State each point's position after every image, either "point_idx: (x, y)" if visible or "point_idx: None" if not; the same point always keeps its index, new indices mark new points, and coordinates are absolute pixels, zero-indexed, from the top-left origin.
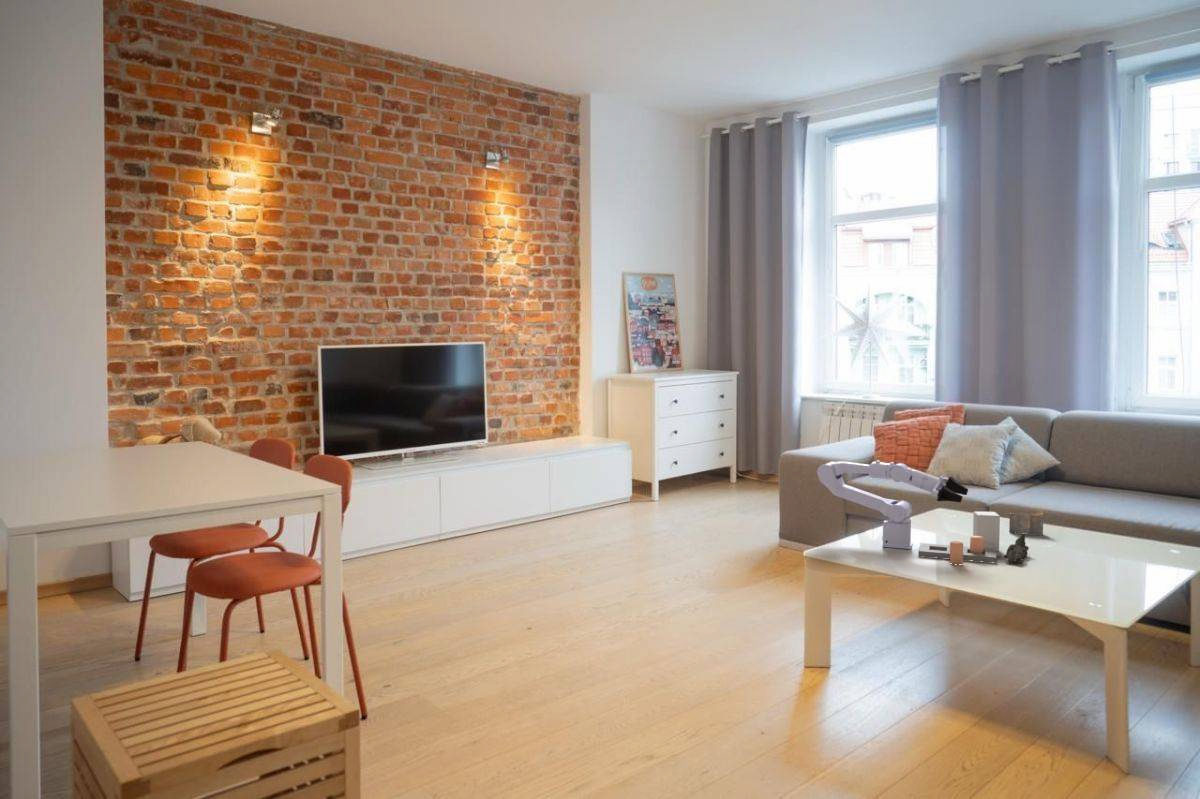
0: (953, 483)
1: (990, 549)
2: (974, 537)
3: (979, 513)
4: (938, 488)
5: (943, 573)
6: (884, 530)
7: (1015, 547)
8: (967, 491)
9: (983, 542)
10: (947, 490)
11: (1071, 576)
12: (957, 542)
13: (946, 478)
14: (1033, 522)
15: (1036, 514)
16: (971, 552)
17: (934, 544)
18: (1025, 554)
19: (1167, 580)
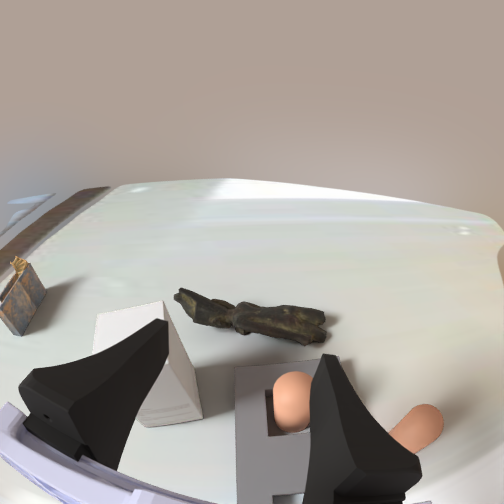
0: (110, 394)
1: (244, 378)
2: (307, 395)
3: None
4: None
5: (496, 430)
6: None
7: (253, 316)
8: (166, 331)
9: (195, 393)
10: (387, 433)
11: (350, 251)
12: (418, 423)
13: (3, 423)
14: (28, 285)
15: (17, 271)
16: (308, 421)
17: None
18: (260, 307)
19: (294, 187)
